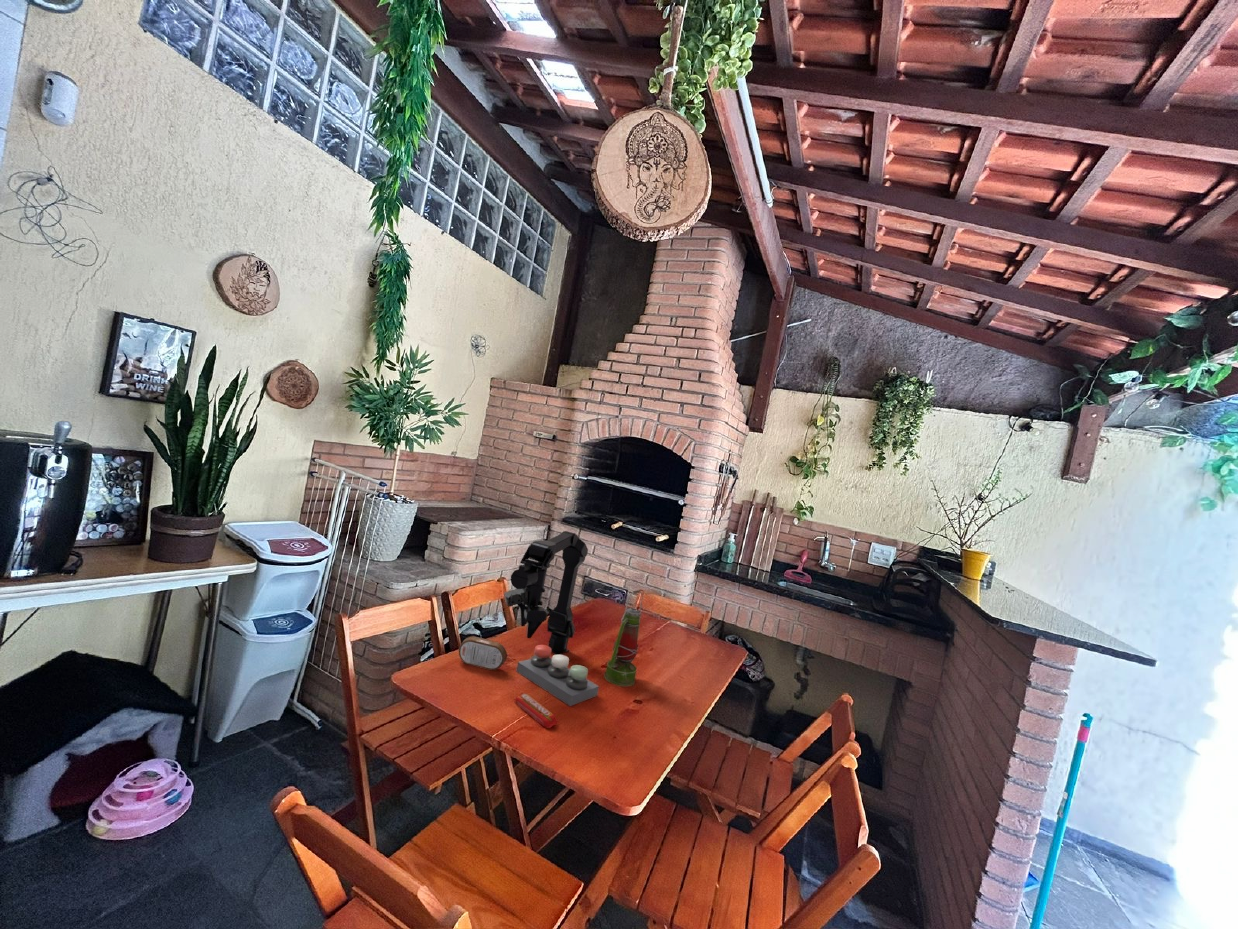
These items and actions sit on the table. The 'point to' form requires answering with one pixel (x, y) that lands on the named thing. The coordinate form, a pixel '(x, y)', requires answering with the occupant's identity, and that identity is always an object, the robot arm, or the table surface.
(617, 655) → the lantern
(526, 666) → the button panel
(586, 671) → the green button
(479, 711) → the table surface
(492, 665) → the tin
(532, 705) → the candy bar
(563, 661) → the white button
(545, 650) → the red button
